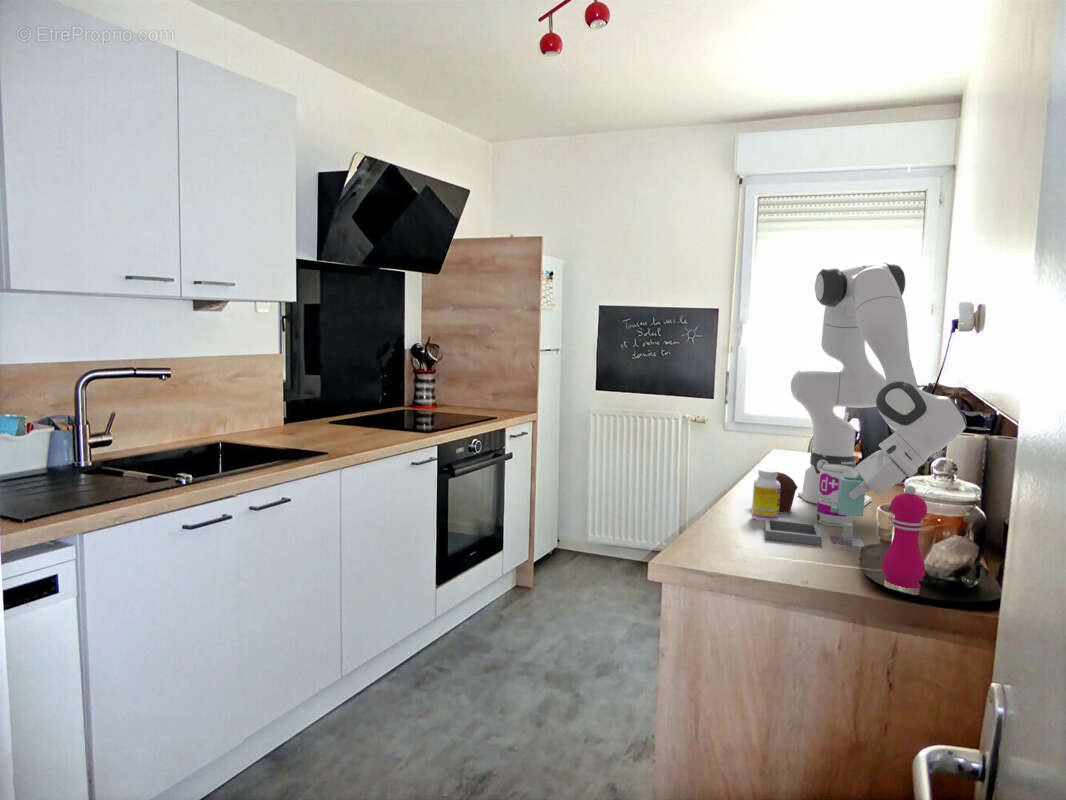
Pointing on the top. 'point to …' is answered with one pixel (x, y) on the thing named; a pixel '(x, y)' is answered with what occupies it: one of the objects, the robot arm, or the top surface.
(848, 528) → the square peg base
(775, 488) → the supplement bottle
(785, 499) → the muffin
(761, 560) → the top surface
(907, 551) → the pepper mill
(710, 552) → the top surface
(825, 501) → the supplement can
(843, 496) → the collar
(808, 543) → the tray
